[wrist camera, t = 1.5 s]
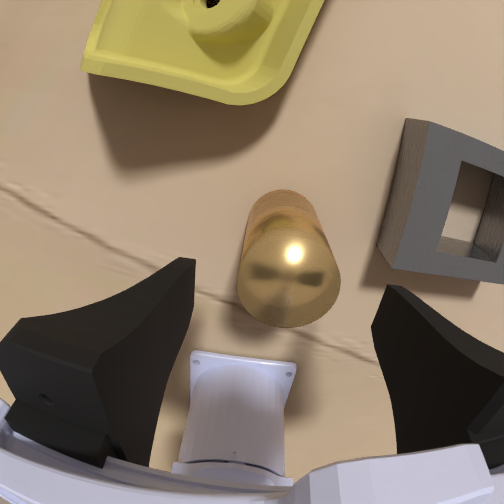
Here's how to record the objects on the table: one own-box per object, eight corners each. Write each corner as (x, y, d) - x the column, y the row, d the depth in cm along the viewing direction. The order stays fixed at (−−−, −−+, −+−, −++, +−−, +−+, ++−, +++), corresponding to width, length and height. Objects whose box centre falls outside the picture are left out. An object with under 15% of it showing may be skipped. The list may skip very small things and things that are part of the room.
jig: (488, 264, 19) (509, 285, 16) (376, 245, 19) (392, 268, 16) (519, 162, 15) (546, 173, 13) (406, 118, 15) (429, 121, 13)
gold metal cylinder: (309, 258, 19) (326, 332, 13) (244, 249, 19) (232, 321, 13) (322, 195, 18) (352, 247, 11) (252, 185, 18) (243, 231, 11)
